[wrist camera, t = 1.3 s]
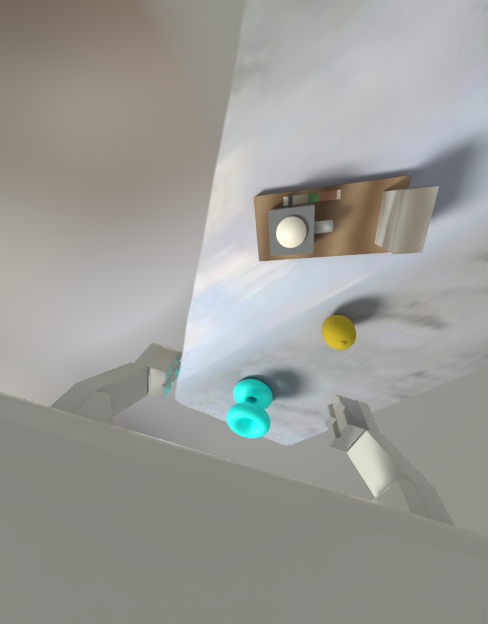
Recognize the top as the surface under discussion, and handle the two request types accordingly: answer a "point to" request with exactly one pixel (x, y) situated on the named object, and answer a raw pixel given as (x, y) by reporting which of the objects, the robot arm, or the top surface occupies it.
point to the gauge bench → (357, 217)
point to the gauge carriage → (294, 228)
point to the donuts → (250, 409)
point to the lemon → (338, 332)
